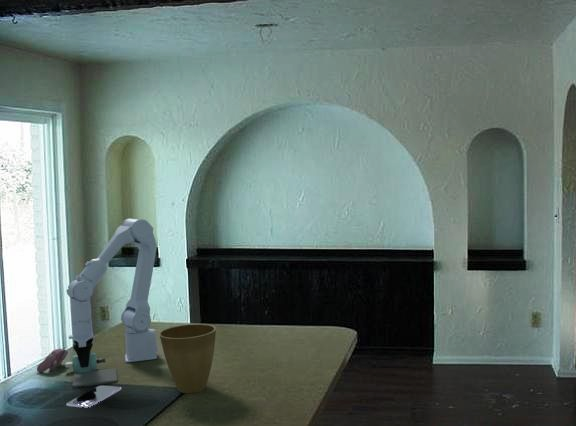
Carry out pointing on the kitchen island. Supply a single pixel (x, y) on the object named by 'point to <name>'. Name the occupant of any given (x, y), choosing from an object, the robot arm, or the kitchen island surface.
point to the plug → (77, 367)
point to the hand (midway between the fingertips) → (84, 364)
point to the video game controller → (52, 360)
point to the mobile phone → (93, 396)
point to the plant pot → (189, 355)
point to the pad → (94, 377)
